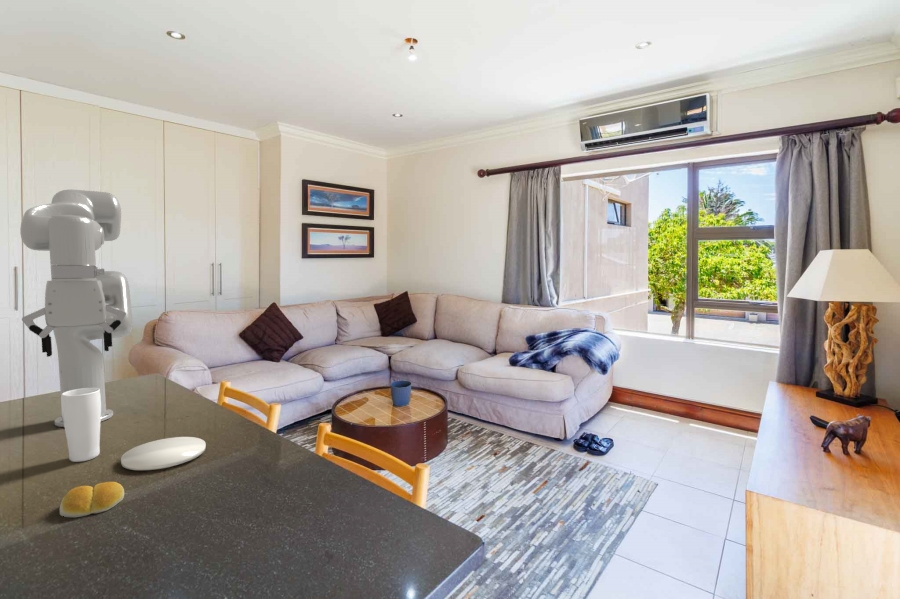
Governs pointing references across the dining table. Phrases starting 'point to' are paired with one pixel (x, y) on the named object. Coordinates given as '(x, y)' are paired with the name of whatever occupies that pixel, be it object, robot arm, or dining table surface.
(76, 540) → the dining table surface
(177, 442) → the cream dish
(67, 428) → the white cup
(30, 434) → the dining table surface
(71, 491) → the bread roll
